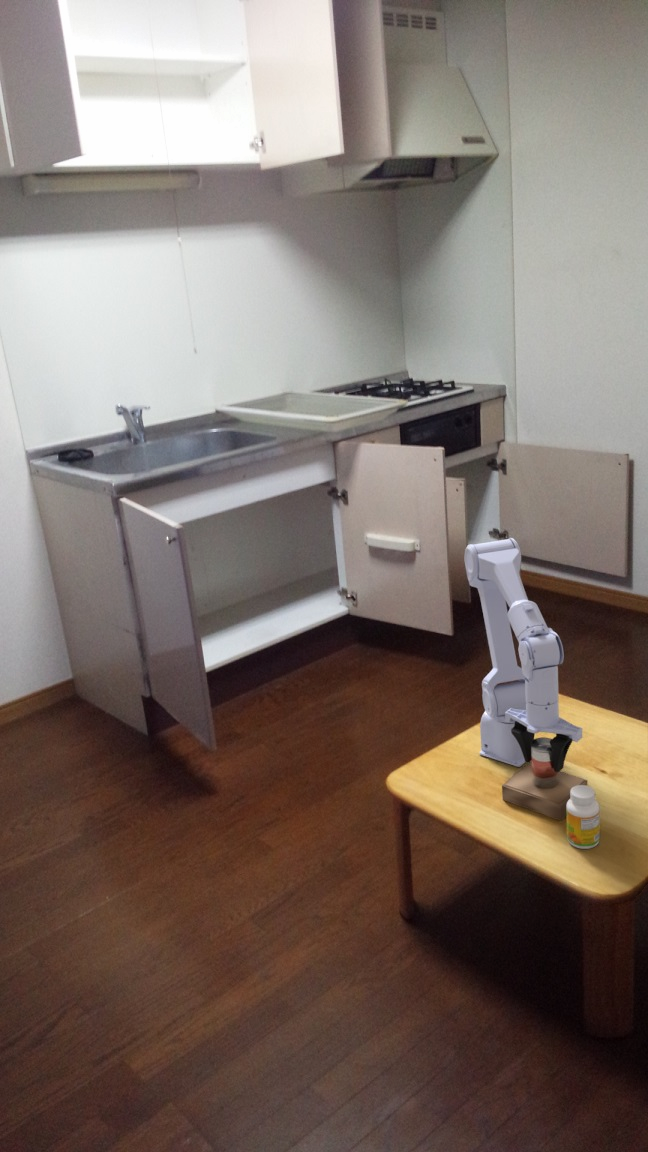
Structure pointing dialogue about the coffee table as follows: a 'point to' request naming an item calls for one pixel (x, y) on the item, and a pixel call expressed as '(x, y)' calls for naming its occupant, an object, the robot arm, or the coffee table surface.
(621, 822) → the coffee table surface
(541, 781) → the tin can
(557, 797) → the brown rectangular block
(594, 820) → the supplement bottle
